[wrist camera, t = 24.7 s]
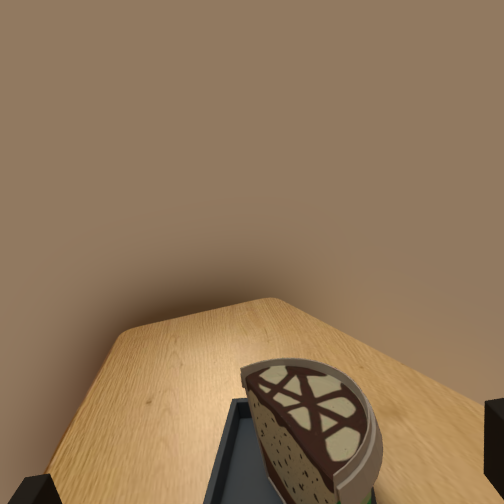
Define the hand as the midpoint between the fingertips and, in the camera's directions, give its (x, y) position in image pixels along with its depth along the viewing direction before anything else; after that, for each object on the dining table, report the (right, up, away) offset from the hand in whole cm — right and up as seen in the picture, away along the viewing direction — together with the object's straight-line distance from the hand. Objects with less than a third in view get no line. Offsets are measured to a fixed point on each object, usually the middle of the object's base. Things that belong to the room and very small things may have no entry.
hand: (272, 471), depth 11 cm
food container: (+5, -12, +15) cm, 20 cm away
